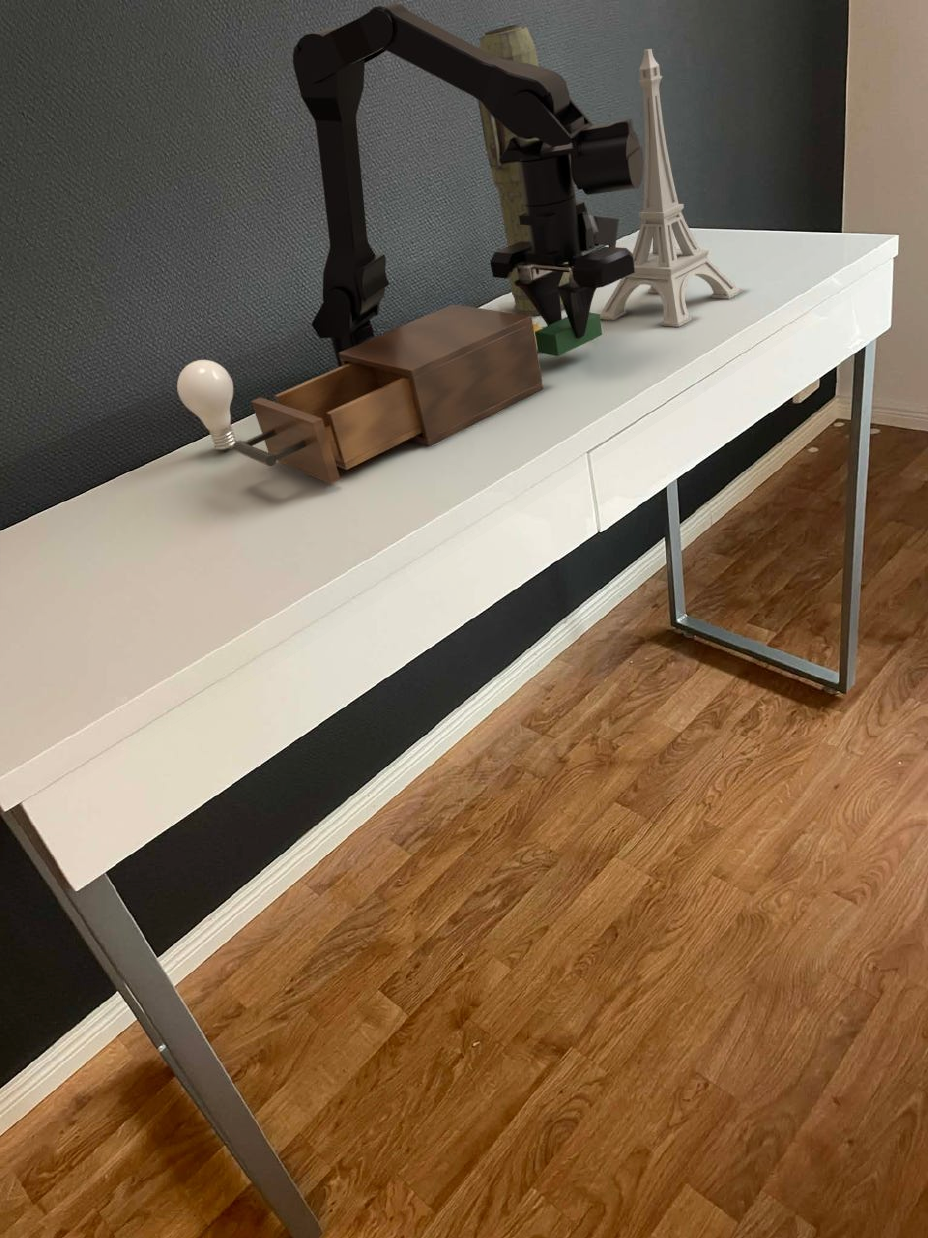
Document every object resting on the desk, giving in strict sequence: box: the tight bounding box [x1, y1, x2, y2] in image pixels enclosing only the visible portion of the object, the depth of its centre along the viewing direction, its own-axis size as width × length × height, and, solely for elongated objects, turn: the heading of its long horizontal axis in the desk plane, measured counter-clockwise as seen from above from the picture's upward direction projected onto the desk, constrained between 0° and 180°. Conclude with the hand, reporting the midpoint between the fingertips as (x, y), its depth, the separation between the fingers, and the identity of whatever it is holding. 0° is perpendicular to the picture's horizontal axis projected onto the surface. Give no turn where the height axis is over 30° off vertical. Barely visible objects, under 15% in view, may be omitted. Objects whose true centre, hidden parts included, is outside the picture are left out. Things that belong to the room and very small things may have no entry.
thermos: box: [477, 23, 570, 316], centre depth 130 cm, size 9×12×35 cm
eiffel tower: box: [599, 48, 742, 328], centre depth 120 cm, size 13×13×30 cm
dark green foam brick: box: [535, 312, 603, 357], centre depth 116 cm, size 8×4×3 cm, turn 129°
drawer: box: [233, 362, 422, 485], centre depth 105 cm, size 21×13×7 cm, turn 129°
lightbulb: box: [176, 359, 238, 452], centre depth 114 cm, size 6×6×11 cm
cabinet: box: [339, 303, 544, 447], centre depth 111 cm, size 17×15×9 cm
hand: (569, 335), depth 116 cm, fingers closed on dark green foam brick, 3 cm apart
